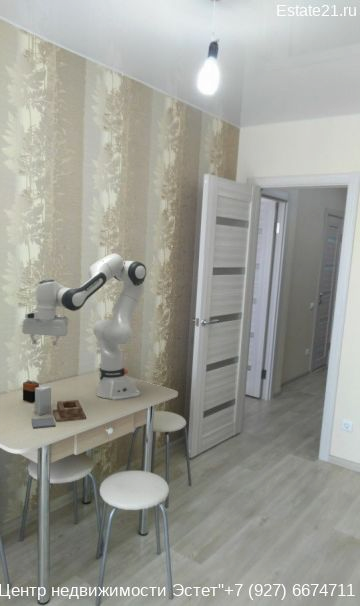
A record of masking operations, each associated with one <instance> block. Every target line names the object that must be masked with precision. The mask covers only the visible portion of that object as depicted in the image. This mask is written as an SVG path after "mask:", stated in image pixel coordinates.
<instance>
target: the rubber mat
mask: <svg viewBox="0 0 360 606" xmlns="http://www.w3.org/2000/svg"><path fill="white" fill-rule="evenodd" d="M31 424H32V428H33V430H35V429H42V428H43V429H44V428H52V427H56V422H55V418H54V417H53V416H51V417H44V418H43V417H41V418H31Z"/></svg>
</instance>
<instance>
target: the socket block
mask: <svg viewBox="0 0 360 606" xmlns="http://www.w3.org/2000/svg"><path fill="white" fill-rule="evenodd" d="M52 413H53V416H54V420H55V421H56V422H55V423H59V422H60V423H61V422H69V421H81V420H82V421H83V420H87V415H86V413H85V412H84V410H83V407H82V405H81V403H80V401H79V399H73V400H59V401H58V400H57V402H56V409H53V410H52Z"/></svg>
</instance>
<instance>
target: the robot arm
mask: <svg viewBox="0 0 360 606" xmlns="http://www.w3.org/2000/svg"><path fill="white" fill-rule="evenodd" d="M146 276H147V267H146V265H145V264H144V263H143V262H139V261H134V260H124V259H123V257H122V256H121V255H119V253H110V254H108V255H105V256H104V257H102V258H100V259H98V260H97V261H95V262H94V263H93V264H92V265H91V266H90V267H89V268H88V277H89V280H87V281H86V282H85V283H84V284H82V285H80V286H79V287H75V288H74V287H71V288H70V287H66V286H65V285H62V284H60V283H59V282H57V281H56V280H55V279H43V280H41V281H39V282H38V285H37V289H36V302H37V303H36V306H35V310H32V311H30V312H27V313H25V316H24V317H25V319H24V320H23V321H22V330H21V331H22V333H23V334H24V335H29V337H30V339H31V340H32V343H31V344H33V345H36V344H37V341H38V340H37V339H35V336H36V335H37V336H40V335H41V336H55V340H53V341H52V345H53V346H57V345H58V341H59V340H60V338H61V337H66V336H67V335H68V333H69V331H68V330H69V329H68V325H69V318H68V317H66V316H65V315H57V307H59V308H63V309H67V310H69V311H72V312H75V311H78V310H80V309H82V307H83V306H84V305H85V304H86V302H87V300H89V298H90V297H92V296H93V295H94V294H95V293H96V292H98V291H99V290H100V289H101V288H102V287H103V286H104V285H105V284H106V283H107V282H109V281H110V280H111V279H113V278H114V279H115V280H116V281H120V282H123V286H122V287H123V288H122V290H121V291H120V293H119V295H118V297H117V299H116V300H115V302H114V303H113V308H112V310H113V312H114V313H113V314H114V315H113V319H112V320H110V319H99V320H98V321H96V322H95V323H94V325H93V328H92V329H93V330H92V331H93V334H94V336H95V337H96V339H97V342H98V347H99V353H100V367H99V384H98V389H97V391H96V395H97V396H98V397H100V398H104V399H109V400H122V399H129V398H134V397H135V398H136V397H140V395H141V392H140V390H139V389H137V387H136V383H135V381H134V380H133V379H132V378H131V377H129V376H128V375H127V374H128V373H129V370H127V369H126V368H124V367H123V352H122V351H121V349H120V346H119V345H126V344H128V343H129V342H131V340H132V338H133V330H132V327H131V326H132V324H131V323H132V320H133V319H132V318H133V316H134V313H135V311H136V309H137V307H138V305H139V304H140V302H141V299H142V295H143V292H144V285H143V284H144V282H145V279H146Z"/></svg>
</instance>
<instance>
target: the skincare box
mask: <svg viewBox="0 0 360 606" xmlns="http://www.w3.org/2000/svg"><path fill="white" fill-rule="evenodd" d="M51 412H52V387H51V386H48V385H42V386H39V387H38V388H35V402H34V414H36V415H38V416H43V415H46V414H49V413H51Z"/></svg>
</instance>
